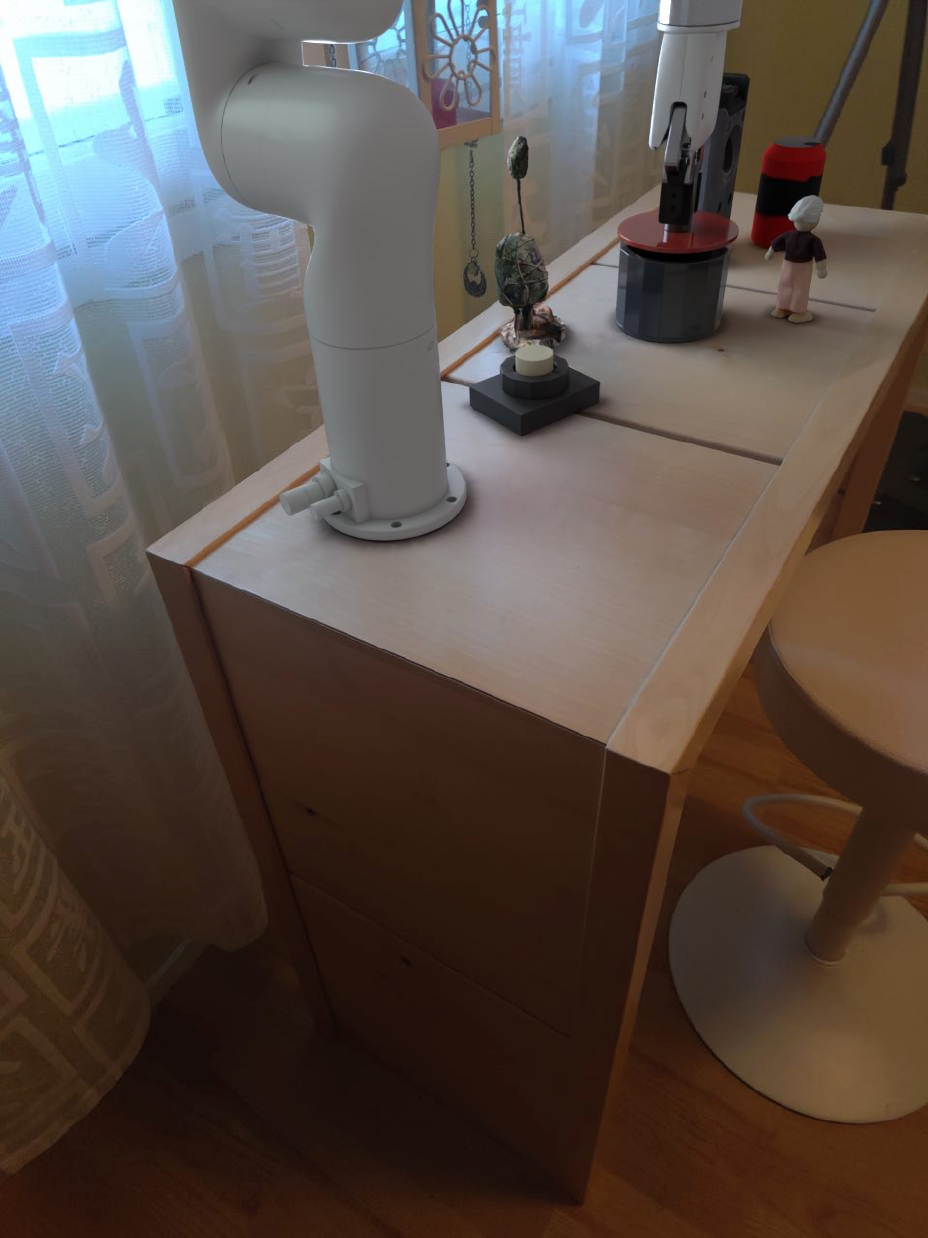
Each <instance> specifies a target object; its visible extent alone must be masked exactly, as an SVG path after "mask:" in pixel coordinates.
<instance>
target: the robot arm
mask: <svg viewBox="0 0 928 1238" xmlns="http://www.w3.org/2000/svg"><path fill="white" fill-rule="evenodd" d="M171 1H172V7H173V12H174V17H175V22H176V23H175V24H176V28H177V33H178V39H179V44H180V48H181V55H182V59H183V65H184V71H185V75H186V80H187V86H188V91H189V95H190V96H189V97H190V101H191V106H192V111H193V116H194V121H195V126H196V131H197V135H198V140H199V143H200V146H201V149H202V152H203V155H204V158H205V161H206V163H207V166H208V168H209V170H210V172H211V174H212V177H214V180H215V181H216V182H217V184H218V185H219V186H220V188H221V189H222V191H224V192H225V193H226V194H227V195H228V196H229V197H230V198H232V200H234V201H235V202H237V203H239V204H240V205H242V206H244V207H246V208H248V209H251V210H254V211H257V212H260V213H262V214H263V213H264V214H268V215H270V216H275V217H278V218H283V219H287V220H290V221H295V222H298V223H301V224H303V225H306V226H310V227H311V228H312V230H313V234H314V235H313V236H314V237H313V238H314V239H313V245H312V249H311V250H312V251H311V254H310V257H309V261H308V264H307V267H306V272H305V275H304V282H303V294H302V295H303V307H304V314H305V320H306V326H307V331H308V336H309V343H310V348H311V355H312V359H313V360H312V361H313V366H314V373H315V379H316V384H317V390H318V396H319V401H320V407H321V413H322V418H323V419H322V420H323V425H324V430H325V431H324V432H325V436H326V443H327V449H328V454H329V456H327V457H324V458H321V459H320V460H318V465H319V470H320V473H318V474H316V475H313V476H312V478H311V481H310V482H308V483H306V484H303V485H299V486H296V487H294V488H291V489H289V490H286V491H284V492H281V493H280V494H279V502H280V505H281V507H282V509H283V511H284V513H285V514H286V515H287V516H290V517H291V516H294V515H296V514H298V513H300V512H303V511H305V510H308V509H309V513H310V514H311V517H312V518H313V519H314V521H317V522H318V521H320V520H323V519H324V520H325V521H326V523H327V524H329V525H330V526H331V527H332V528H333V529H335V530H336V531H339V532H340V533H343V534H346V535H348V536H351V537H353V538H358V539H362V540H368V541H369V540H370V541H387V542H388V541H397V540H407V539H411V538H416V537H419V536H422V535H425V534H428V533H429V534H430V533H431V532H433V531H435V530H437V529H440V528H442V527H443V526H445V525H446V524H448V523H449V522H451V521H452V520H453V519H454V518H455V517H456V516H457V515H459V513H461V510H462V509H463V507H464V506H465V504H466V501H467V498H468V492H467V490H468V487H467V480H466V477H465V475H464V473H463V471H462V470H461V469H460V468H459V467H458V466H457V465H456V464H455V463H453V462H451V461H449V460H448V459H447V449H446V437H445V435H446V434H445V422H444V410H443V409H444V408H443V395H442V393H443V392H442V380H441V378H442V377H441V365H440V352H439V351H440V350H439V338H438V337H439V335H438V321H437V311H436V297H435V295H436V294H435V277H434V275H435V273H434V238H435V237H434V236H435V235H434V234H435V223H436V212H437V203H438V196H439V190H440V189H439V187H440V179H441V164H442V163H441V162H442V161H441V159H442V158H441V157H442V152H441V143H440V136H439V133H438V130H437V126H436V123H435V121H434V118H433V116H432V114H431V113H430V111H429V110H428V108H427V107H426V105H425V103H424V102H423V101H422V100H421V99H420V97H419V96H417V94H415V93H414V92H413V91H411V89H409V88H408V87H407V86H405V85H404V84H402V83H400V82H398V81H396V80H394V79H392V78H390V77H386V76H384V75H383V74H379V73H374V72H370V71H367V70H366V71H365V70H359V69H358V70H357V69H350V68H340V67H332V66H325V65H317V64H315V65H307V64H305V60H304V51H303V43H304V42H306V43H315V44H334V45H335V44H338V45H339V44H342V45H344V44H345V45H353V44H359V43H360V44H361V43H366V42H369V41H371V40H374V39H377V38H379V37H381V36H382V35H384V34H385V33H386V32H387V31H389V30H390V29H391V28H392V27H393V26H394V25H395V23H396V21H397V19H398V17H399V16H400V13H401V12H402V10H403V9H402V8H403V6H404V3H405V0H171ZM743 3H744V0H658V7H657V20H656V29H657V30H658V31H660V32H663V37H662V41H661V46H660V52H659V58H658V65H657V70H656V71H657V72H656V79H655V86H654V93H653V94H654V95H653V102H652V110H651V111H652V113H651V120H650V128H649V138H648V146H649V148H650V150H651V151H654V152H655V151H657V150H659V148H661V146H662V145H663V144H664V143H665V152H664V160H663V170H662V178H661V180H662V181H661V185H660V194H659V195H660V197H659V205H658V206H659V208H658V211H659V217H658V221H659V223H661V224H672V225H684V226H685V225H688V223H689V222H690V217H691V208H692V199H693V190H694V183H691V180H692V173H693V165H694V158H695V159H698V160H699V161H700V165H699V171H701V169H702V164H703V154H704V144H705V141H706V140H707V139H708V138H709V136H710V135H711V134H712V132H713V130H714V128H715V124H716V119H717V114H718V108H719V101H720V93H721V85H722V77H723V72H724V67H725V58H726V57H725V56H726V49H727V38H728V37H727V36H728V32H729V31H732V30H735V29H738V28H739V27H740V26H741V18H742V11H743V10H742V9H743ZM683 157H687V162H686V163H685V159H681V158H683ZM701 179H702V172H699V173H698V182H697V191H696V199H695V208H694V214H695V213H696V212H697V210H698V204H699V196H700V187H701Z"/></svg>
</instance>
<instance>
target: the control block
mask: <svg viewBox="0 0 928 1238" xmlns="http://www.w3.org/2000/svg"><path fill="white" fill-rule="evenodd" d="M468 393H469V394H468V395H469V407H471V408H472V409H474V410H476V411H478V413H481V414H483V415H485V416H486V417H488V418H489V419H491V420H493V421H495V422H496V423H498V424H500V425H502V426H503V427H506V428H507V429H508V430H510V431H511V432H514V433H515V434H516V435H518V436H521V437H523V436H524V435H527V434H529V433H532V432H534V431H536V430H538V429H541V428H543V427H545V426H548V425H551V424H552V423H554V422H557V421H559V420H562V419H564V418H566V417H569V416H571V415H573V414H575V413H578V412H580V411H583V410H585V409H587V408H590V407H592V406H594V405H596V404H599V403H600V394H601V381H600V380H598V379H595V378H593V377H591V376H589V375H587V374H585V373H583V372H581V371H579V370H577V369H575V368H573V367H571V366H570V365H569V363H568V361H567V359H566V358H564V357H562V356H559V355H557V354H556V353H554V357H553V371H552V372H551V373H549V374H546V375H543V376H533V377H532V376H525V375H521V374H519V373H517V372H516V354H514V355H511V356H508V357H506V358H505V359H504V360H503V361H502V363H501V364H500V365H499V373H498V374H495V375H493V376H490V377H488V378H484V379H483V380H480V381H478V382H476V383H473V384H470V385H468Z"/></svg>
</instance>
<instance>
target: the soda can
mask: <svg viewBox="0 0 928 1238" xmlns="http://www.w3.org/2000/svg"><path fill="white" fill-rule="evenodd" d="M827 157H828V155H827V152H826V149H825V148H824V146H823V144H822V141H821V140H820V139H819V138H816V137H813V136H812V137H811V136H805V135H804V136H802V135H788V136H782V137H777V138H775V139H774V140H773V142H772V143H771V144H770V145H769V146H768V147H767V149H766V150H765V151H764V152H763V157H762V163H761V170H760V176H759V182H758V187H757V188H758V190H757V194H756V202H755V207H754V214H753V219H752V226H751V233H750V239H751V240H752V242H753V243H754V244H755V246H758V247H761V248H765V249H769V248H770V247H771V242H772V241H773V240H774V239H776V238H777V237H778V236H780V235H781V234H783V233H785V232H788V231H791V230H797V229H796V227H795V225H794V222H793V221H791V220H790V219H789V216H788V214H790V212H791V210H792V208H793V207H794V206H795V204H796V203H797V202H798V201H799V200H801V199H802V198H804V197H807V196H811V195H815V196H817V197H820V196H819V195H820V191H821V186H822V180H823V176H824V172H825V171H824V170H825V166H826V163H827V162H826V161H827ZM810 232H811V233H812V231H810Z"/></svg>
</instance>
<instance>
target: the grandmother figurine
mask: <svg viewBox="0 0 928 1238" xmlns="http://www.w3.org/2000/svg"><path fill="white" fill-rule="evenodd" d="M824 205H825V204H824V201H823V199H822V198H821V197H820V196H818V197H817V196H815V195H811V196H807V197H804V198H802V199H801V200H799V201H798V202H797V203H796V204H795V206H794V207H793V208H792V210H791V212H790V214H788V216H789V219H790V220H791V221H793V222H794V225H795V227H796V229H797V230H791V231H788V232H785V233H783V234H781V235H780V236H778V237H777V238H776V239H774V240H773V241H772V242H771V247H770V248H768V251H767V252H766V254H765V255H764V259H765V260H766V261H767V262H772V261H773V260H774V259H775V257H776V255H778V253H784V252H785V254H784V257H783V260H782V261H783V262H782V266H781V269H780V273H779V278H778V283H777V293H776V299H775V307H776V308H775V309H774V310H773V311H772V312H771V316H772V317H774V318H778V319H782V318H786V317H788V316H789V317H788V318H787V319H788V321H789V322H790V323H791V322H792V323H794V324H799V323H805V322H810V321H813V313H812V312H811V311H810V310H809V309H808V306H809V298H810V289H811V283H812V278H813V271H814V270H813V269H814V267H813V266H814V265H813V264H814V263H815V266H816V267H815V268H816V270H817V274H816V277H817V278H818V279H820V280H822V279H825V278H827V277H828V275H829V274H828V273H829V272H828V270H827V266H828V263H827V258H828V256H827V253H826V250H825V247H824V243H823V241H822V239H821V238H820V237H819V236H817V235H816V234H815V233H813V230H815V229H816V228H817V227H818V225H819V223H820V219H821V216H822V213H823V212H824ZM810 231H811V232H810Z"/></svg>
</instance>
